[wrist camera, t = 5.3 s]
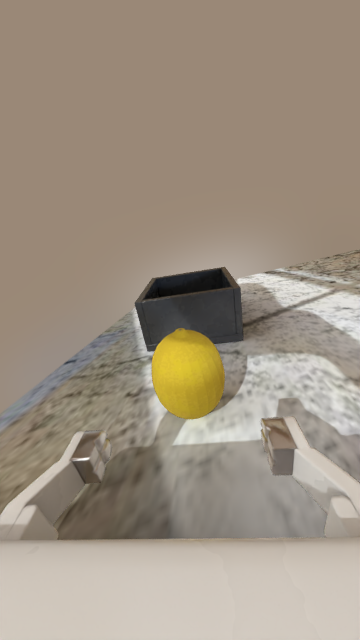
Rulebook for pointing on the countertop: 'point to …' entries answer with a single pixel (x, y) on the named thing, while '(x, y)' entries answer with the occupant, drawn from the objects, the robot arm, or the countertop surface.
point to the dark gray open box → (191, 306)
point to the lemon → (188, 374)
